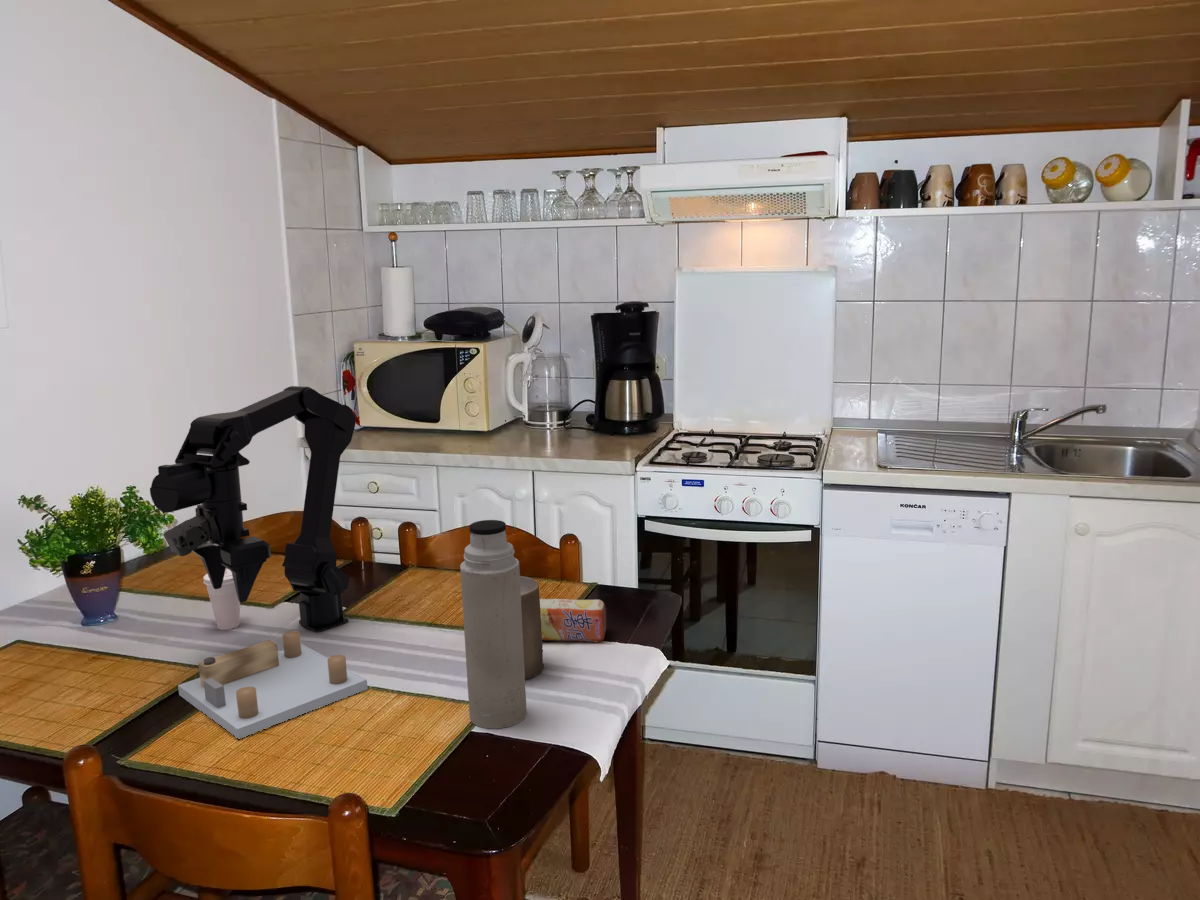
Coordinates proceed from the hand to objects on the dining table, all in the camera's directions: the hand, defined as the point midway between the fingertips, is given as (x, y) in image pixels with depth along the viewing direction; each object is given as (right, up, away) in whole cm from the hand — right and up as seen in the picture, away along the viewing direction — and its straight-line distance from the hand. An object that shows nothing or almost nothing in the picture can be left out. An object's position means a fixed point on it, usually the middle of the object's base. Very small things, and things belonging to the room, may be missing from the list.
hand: (229, 595), depth 147 cm
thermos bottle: (+44, -15, -15) cm, 49 cm away
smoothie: (-8, -9, +20) cm, 23 cm away
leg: (+3, -12, -4) cm, 13 cm away
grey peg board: (+9, -14, -6) cm, 18 cm away
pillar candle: (+44, -12, -1) cm, 46 cm away
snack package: (+49, -9, +12) cm, 51 cm away
